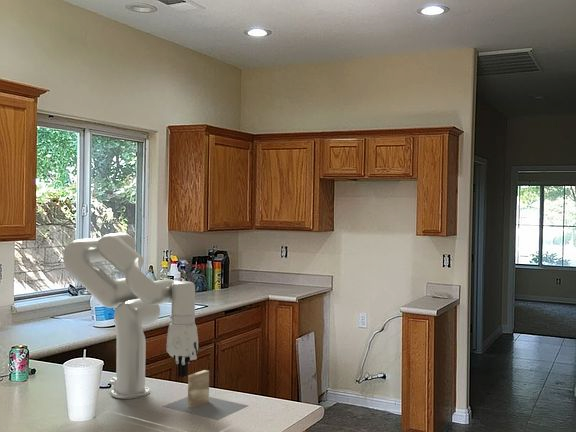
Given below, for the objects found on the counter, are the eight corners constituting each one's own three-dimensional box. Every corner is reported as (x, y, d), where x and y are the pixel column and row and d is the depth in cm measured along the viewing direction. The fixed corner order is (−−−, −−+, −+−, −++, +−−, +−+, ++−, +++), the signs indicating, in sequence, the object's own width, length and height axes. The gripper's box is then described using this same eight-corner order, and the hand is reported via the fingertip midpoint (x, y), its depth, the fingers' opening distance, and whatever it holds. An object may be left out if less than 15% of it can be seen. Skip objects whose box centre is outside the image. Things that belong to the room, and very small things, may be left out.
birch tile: (187, 406, 198) (187, 375, 198) (203, 400, 205) (203, 369, 205) (192, 408, 197) (193, 376, 197) (208, 401, 204) (209, 370, 204)
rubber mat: (162, 407, 199) (162, 406, 198) (195, 394, 212) (195, 393, 212) (217, 421, 187) (217, 419, 187) (248, 406, 201) (248, 405, 201)
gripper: (157, 319, 205) (157, 375, 205) (193, 324, 197) (193, 382, 197) (173, 315, 211) (173, 370, 212) (208, 320, 204) (208, 376, 204)
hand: (182, 375), depth 205 cm, fingers closed
